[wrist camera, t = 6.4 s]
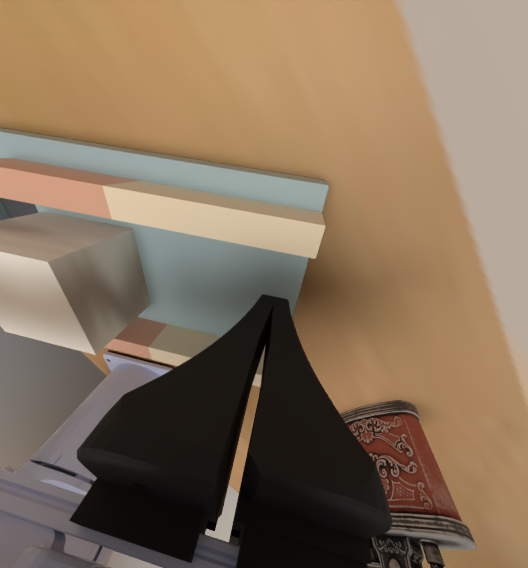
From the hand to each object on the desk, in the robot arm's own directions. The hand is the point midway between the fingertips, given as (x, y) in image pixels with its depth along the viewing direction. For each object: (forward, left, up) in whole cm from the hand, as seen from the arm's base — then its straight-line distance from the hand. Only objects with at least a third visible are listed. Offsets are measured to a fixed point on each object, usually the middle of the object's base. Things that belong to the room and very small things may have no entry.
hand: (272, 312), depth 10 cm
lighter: (-13, -11, -4) cm, 18 cm away
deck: (0, +10, -3) cm, 10 cm away
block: (0, +10, -1) cm, 10 cm away
